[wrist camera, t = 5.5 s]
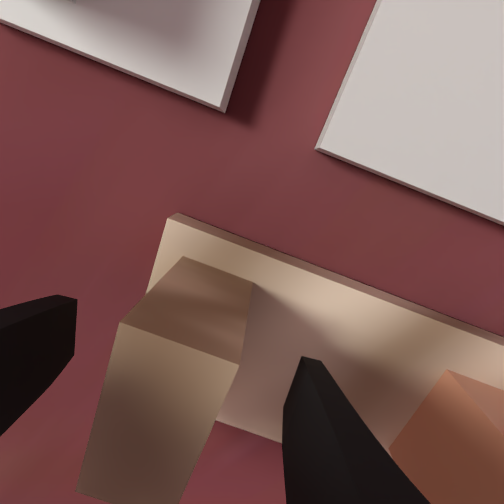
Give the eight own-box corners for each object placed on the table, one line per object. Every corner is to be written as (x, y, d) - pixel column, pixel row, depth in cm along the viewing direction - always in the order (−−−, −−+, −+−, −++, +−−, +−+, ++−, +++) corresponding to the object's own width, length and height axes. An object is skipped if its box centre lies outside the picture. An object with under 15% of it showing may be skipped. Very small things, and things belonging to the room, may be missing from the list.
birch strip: (634, 387, 11) (931, 570, 6) (515, 504, 13) (663, 708, 8) (177, 212, 10) (87, 259, 5) (131, 368, 12) (37, 506, 7)
